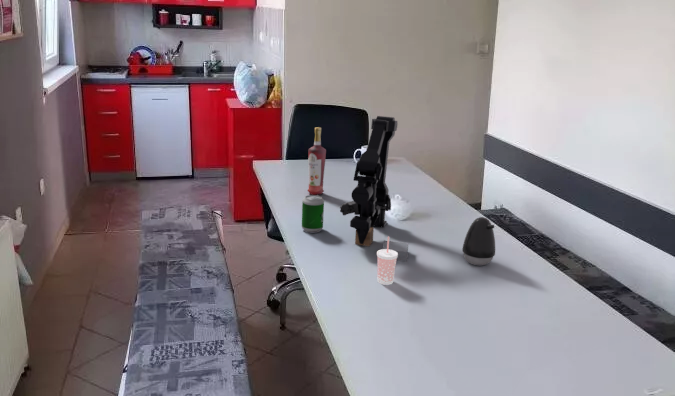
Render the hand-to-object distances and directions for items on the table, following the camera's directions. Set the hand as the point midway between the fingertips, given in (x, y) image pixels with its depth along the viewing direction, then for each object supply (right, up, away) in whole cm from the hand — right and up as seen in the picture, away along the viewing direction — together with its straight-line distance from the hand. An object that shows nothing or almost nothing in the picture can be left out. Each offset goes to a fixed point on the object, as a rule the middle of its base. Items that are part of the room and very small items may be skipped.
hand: (364, 239), depth 213 cm
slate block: (+10, -5, -9) cm, 14 cm away
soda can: (-18, +3, +10) cm, 21 cm away
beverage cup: (+5, -10, -29) cm, 31 cm away
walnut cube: (0, -1, 0) cm, 1 cm away
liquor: (-18, +16, +52) cm, 57 cm away
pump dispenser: (+36, -7, -12) cm, 38 cm away
